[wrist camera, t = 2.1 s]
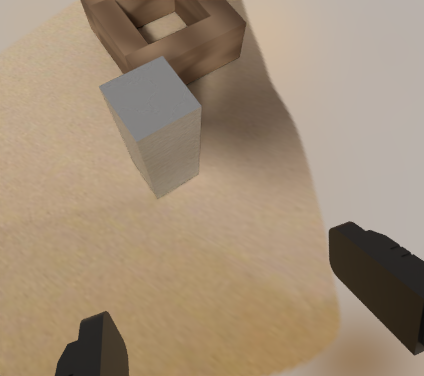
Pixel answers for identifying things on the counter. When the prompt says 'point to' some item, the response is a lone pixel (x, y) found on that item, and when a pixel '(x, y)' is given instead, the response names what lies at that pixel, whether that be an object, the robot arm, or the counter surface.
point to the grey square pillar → (157, 123)
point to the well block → (173, 44)
